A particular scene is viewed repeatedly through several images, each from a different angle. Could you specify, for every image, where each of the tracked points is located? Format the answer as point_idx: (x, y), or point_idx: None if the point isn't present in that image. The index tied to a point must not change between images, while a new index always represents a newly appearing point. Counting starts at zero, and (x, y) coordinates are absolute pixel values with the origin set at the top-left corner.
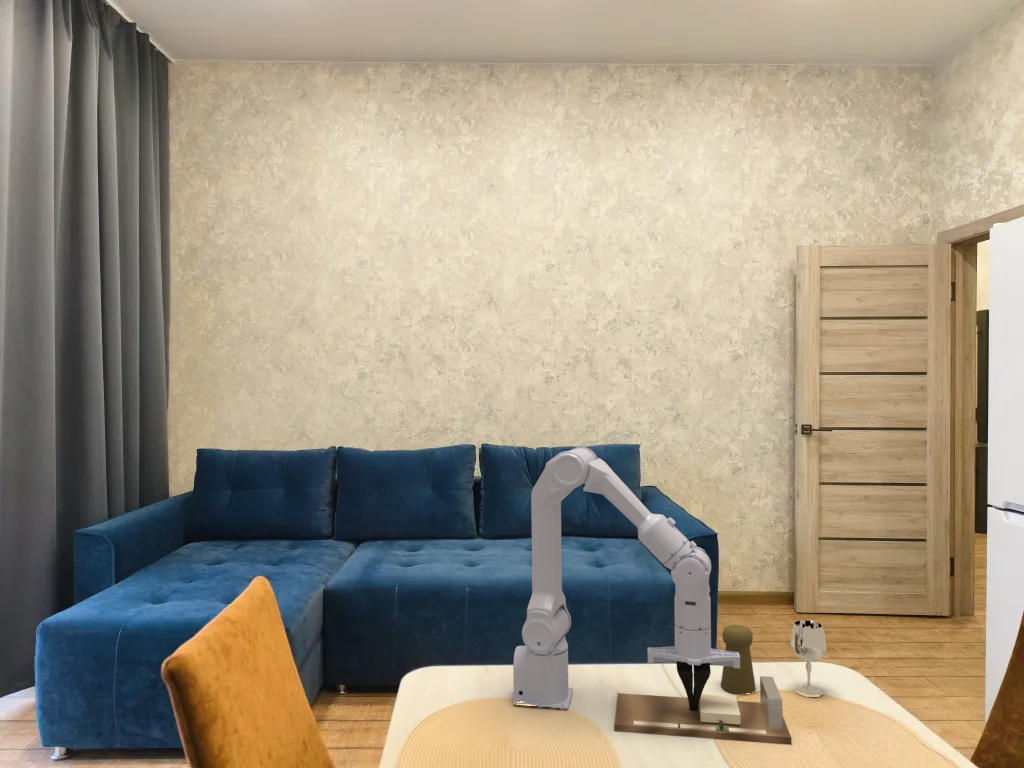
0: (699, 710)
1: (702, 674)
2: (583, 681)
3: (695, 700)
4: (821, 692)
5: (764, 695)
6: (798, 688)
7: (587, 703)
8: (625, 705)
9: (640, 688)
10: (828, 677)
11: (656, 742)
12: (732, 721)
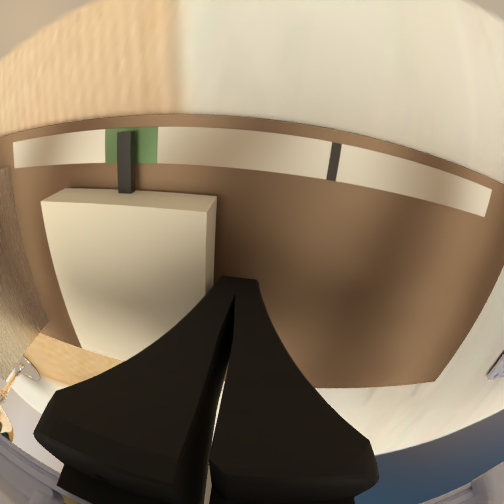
0: None
1: (94, 430)
2: (445, 410)
3: (224, 302)
4: None
5: None
6: (36, 377)
7: (494, 336)
8: (456, 324)
9: (352, 415)
10: (25, 390)
11: (426, 86)
12: (82, 191)
